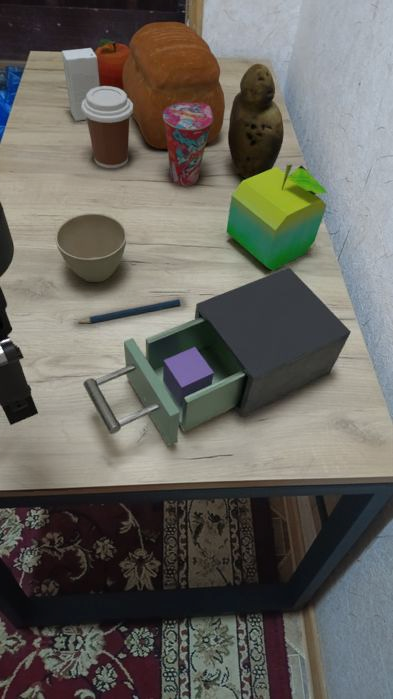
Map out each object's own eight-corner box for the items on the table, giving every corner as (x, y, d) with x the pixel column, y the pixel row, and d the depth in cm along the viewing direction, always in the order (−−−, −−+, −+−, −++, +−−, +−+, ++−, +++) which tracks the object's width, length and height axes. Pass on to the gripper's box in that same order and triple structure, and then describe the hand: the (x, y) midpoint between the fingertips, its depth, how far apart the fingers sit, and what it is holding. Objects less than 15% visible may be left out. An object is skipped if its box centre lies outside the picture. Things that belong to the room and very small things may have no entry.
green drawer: (120, 471, 56) (116, 441, 50) (81, 395, 61) (73, 361, 55) (261, 400, 63) (272, 367, 57) (214, 338, 68) (220, 302, 62)
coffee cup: (119, 140, 98) (115, 78, 89) (144, 163, 94) (143, 100, 85) (78, 153, 95) (70, 90, 85) (102, 177, 90) (96, 113, 81)
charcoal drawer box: (241, 418, 62) (253, 378, 55) (191, 347, 68) (196, 303, 61) (329, 373, 67) (351, 331, 60) (275, 311, 73) (289, 267, 66)
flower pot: (54, 259, 77) (46, 222, 71) (114, 243, 80) (111, 206, 74) (75, 302, 72) (68, 266, 66) (138, 283, 75) (137, 247, 69)
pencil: (180, 306, 73) (78, 327, 69) (178, 301, 73) (77, 321, 70) (180, 302, 72) (78, 323, 68) (178, 297, 73) (76, 318, 69)
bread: (194, 95, 112) (200, 9, 99) (227, 145, 100) (239, 56, 87) (119, 101, 108) (114, 13, 94) (144, 155, 96) (142, 63, 82)
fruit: (145, 88, 112) (144, 40, 104) (111, 100, 108) (108, 51, 100) (119, 72, 116) (116, 25, 108) (85, 83, 111) (80, 34, 104)
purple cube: (162, 380, 62) (163, 360, 59) (192, 367, 64) (195, 346, 60) (180, 406, 60) (181, 387, 57) (210, 392, 62) (213, 372, 58)
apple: (264, 275, 78) (284, 194, 66) (225, 240, 82) (237, 159, 70) (311, 250, 82) (338, 170, 70) (271, 218, 87) (290, 138, 75)
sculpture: (218, 157, 97) (231, 47, 81) (259, 155, 99) (279, 47, 83) (234, 199, 89) (252, 86, 73) (278, 196, 91) (305, 85, 75)
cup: (202, 194, 89) (207, 132, 80) (156, 186, 90) (157, 123, 80) (211, 166, 95) (217, 105, 85) (168, 159, 96) (170, 96, 86)
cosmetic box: (97, 107, 105) (91, 47, 96) (103, 117, 103) (97, 56, 94) (69, 111, 104) (60, 50, 94) (74, 121, 101) (66, 59, 92)
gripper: (34, 259, 27) (85, 450, 46) (-32, 141, 33) (36, 351, 52) (-114, 306, 24) (4, 488, 43) (-155, 168, 31) (-36, 379, 49)
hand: (22, 413), depth 47 cm, fingers closed
